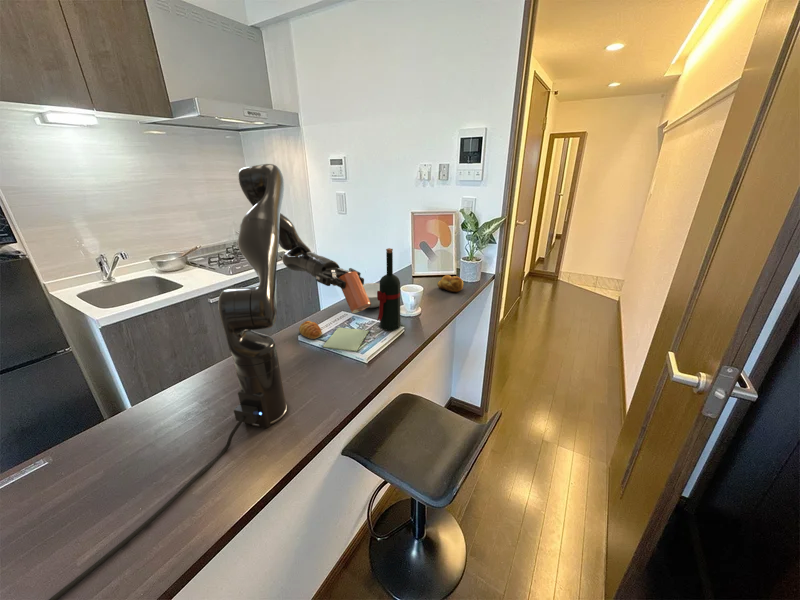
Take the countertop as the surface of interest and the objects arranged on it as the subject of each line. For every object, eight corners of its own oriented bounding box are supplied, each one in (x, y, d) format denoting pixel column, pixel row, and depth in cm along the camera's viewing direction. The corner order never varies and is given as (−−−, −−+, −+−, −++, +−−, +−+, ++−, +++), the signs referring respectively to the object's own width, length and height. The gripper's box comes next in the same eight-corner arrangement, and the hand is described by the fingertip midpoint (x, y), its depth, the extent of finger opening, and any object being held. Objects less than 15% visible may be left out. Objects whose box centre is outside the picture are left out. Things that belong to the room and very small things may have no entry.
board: (356, 351, 107) (356, 350, 107) (322, 347, 110) (322, 346, 110) (369, 331, 120) (369, 330, 120) (338, 328, 122) (338, 327, 122)
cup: (365, 303, 94) (350, 270, 96) (348, 313, 95) (333, 280, 97) (374, 304, 100) (360, 272, 102) (357, 313, 101) (344, 282, 103)
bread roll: (434, 289, 159) (434, 274, 156) (442, 283, 167) (443, 269, 163) (458, 295, 153) (459, 279, 149) (466, 288, 160) (467, 273, 157)
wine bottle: (371, 328, 122) (368, 250, 110) (389, 319, 129) (388, 245, 117) (386, 335, 117) (385, 254, 105) (404, 325, 124) (405, 248, 113)
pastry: (327, 335, 117) (326, 326, 115) (310, 342, 113) (309, 332, 111) (313, 326, 123) (312, 317, 122) (297, 333, 119) (295, 323, 117)
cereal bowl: (377, 315, 132) (377, 299, 129) (345, 307, 140) (344, 292, 137) (398, 301, 146) (398, 286, 143) (368, 294, 153) (367, 280, 150)
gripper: (303, 259, 102) (335, 275, 91) (341, 255, 112) (373, 269, 102) (303, 282, 104) (333, 299, 94) (339, 276, 114) (371, 291, 104)
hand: (354, 283), depth 98 cm, fingers closed on cup, 6 cm apart
